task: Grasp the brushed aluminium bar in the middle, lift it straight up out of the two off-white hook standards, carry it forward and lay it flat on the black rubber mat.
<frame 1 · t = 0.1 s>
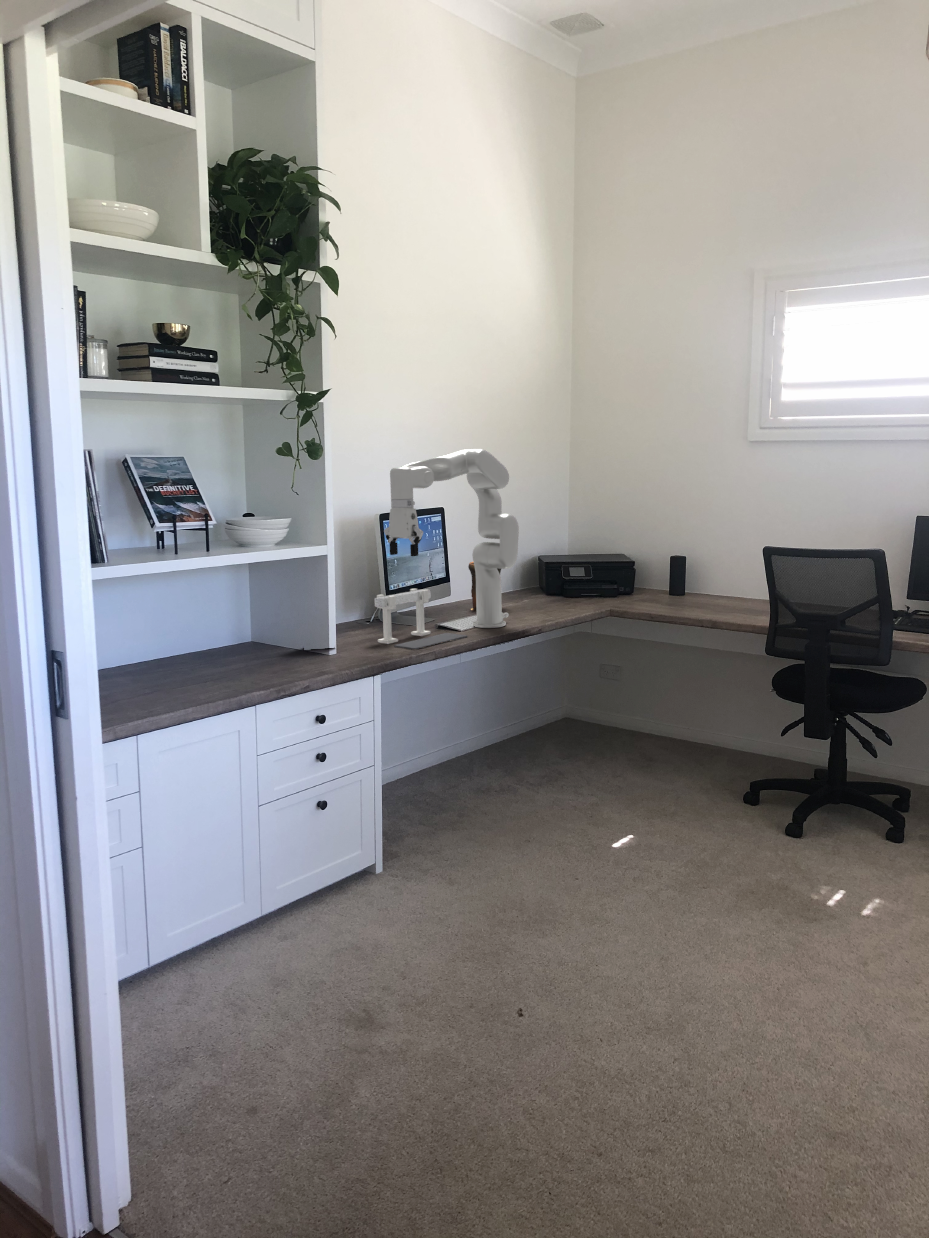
hand: (404, 555, 322), 31 cm above the table, tool pointing down, fingers open, 9 cm apart
hook standards: (404, 638, 341), on the table
rail: (403, 602, 338), point 13 cm above the table, touching hook standards
mat: (431, 641, 332), on the table
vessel: (486, 609, 399), on the table
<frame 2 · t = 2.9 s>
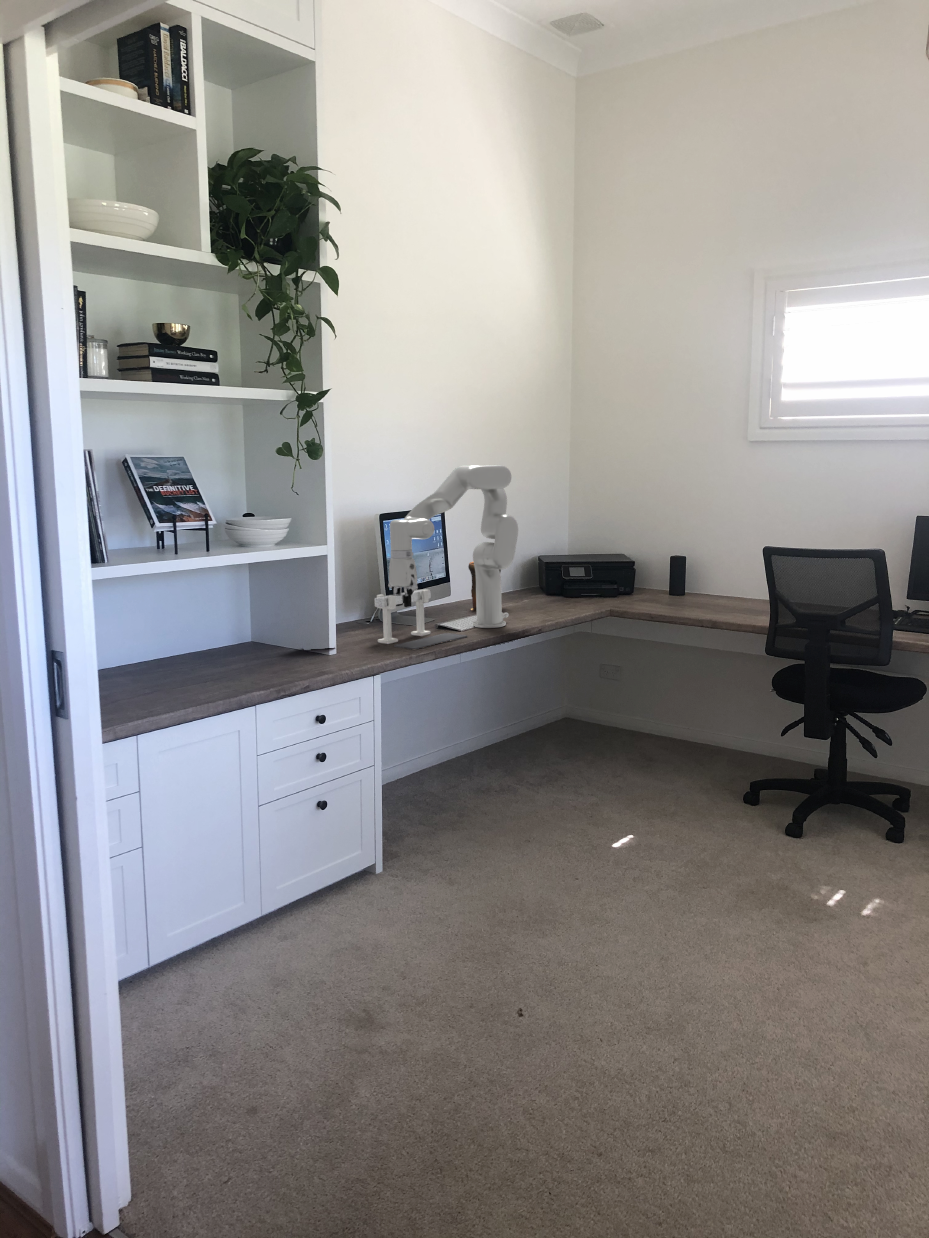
hand: (403, 605, 339), 12 cm above the table, tool pointing down, fingers closed on rail, 3 cm apart
rail: (403, 602, 338), point 13 cm above the table, touching gripper, hook standards
everything else where it was.
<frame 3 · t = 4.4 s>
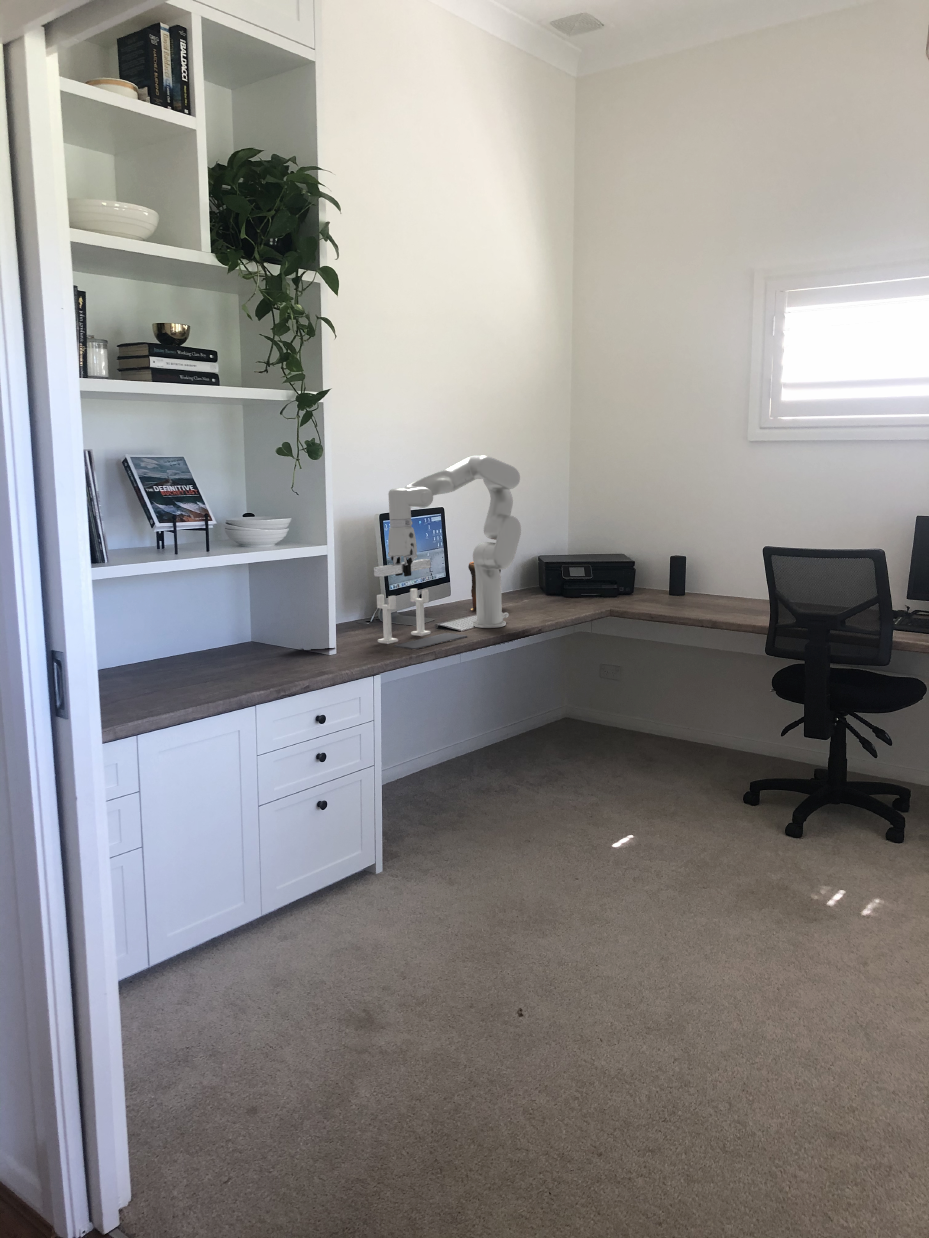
hand: (403, 575, 337), 23 cm above the table, tool pointing down, fingers closed on rail, 3 cm apart
rail: (403, 571, 337), point 24 cm above the table, touching gripper
everything else where it was.
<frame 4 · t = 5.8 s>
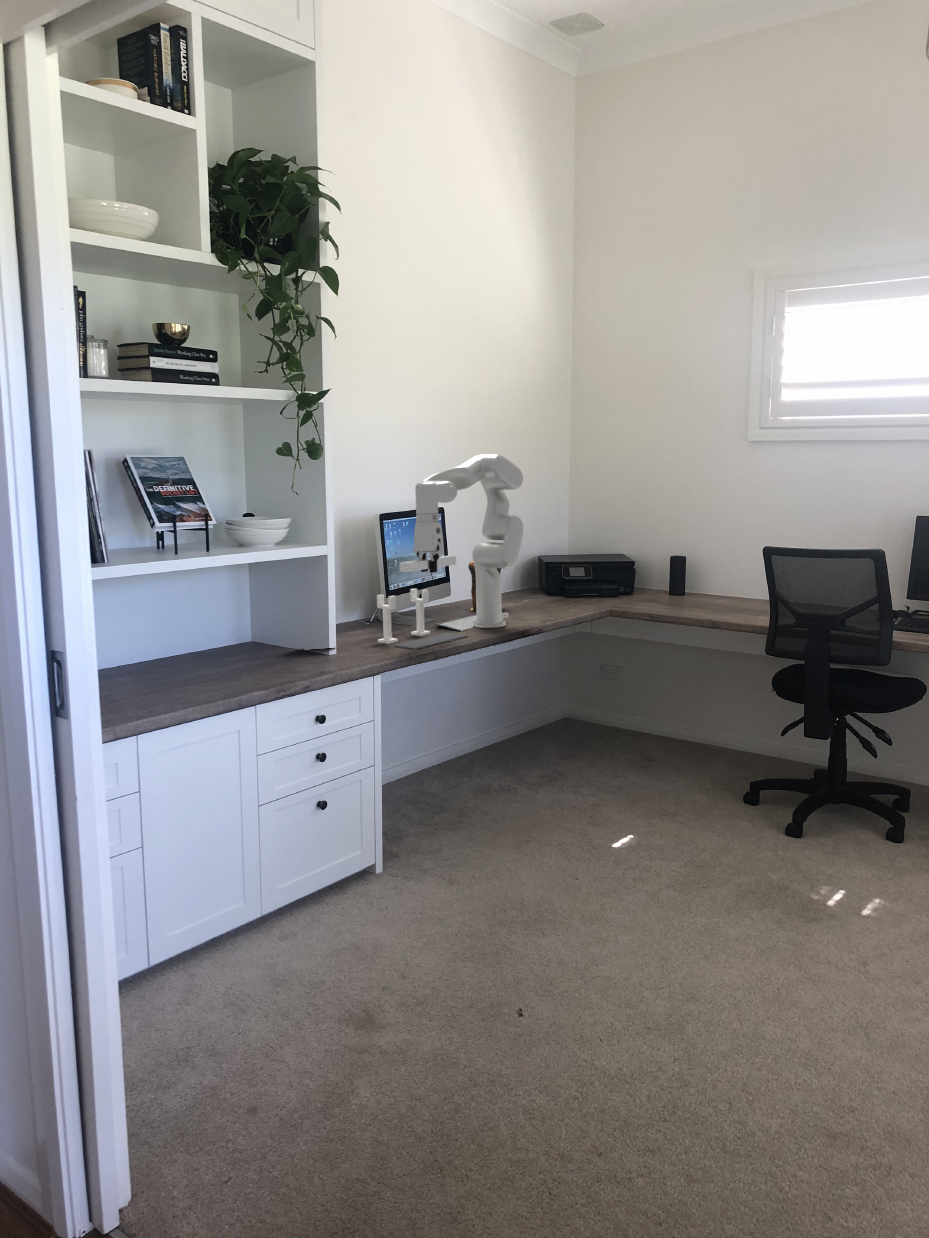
hand: (429, 571, 328), 25 cm above the table, tool pointing down, fingers closed on rail, 3 cm apart
rail: (428, 567, 328), point 26 cm above the table, touching gripper
everything else where it was.
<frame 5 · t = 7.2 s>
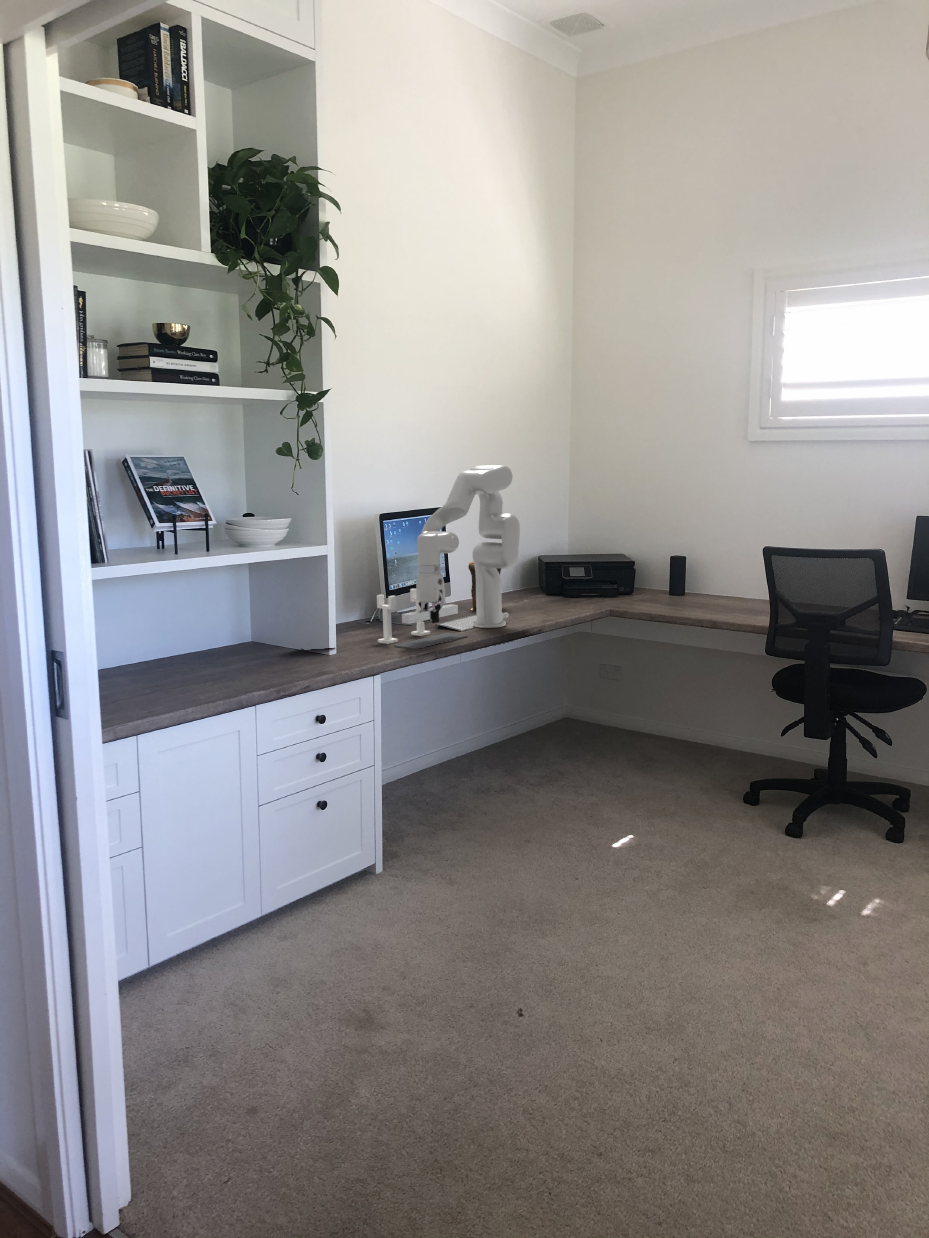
hand: (431, 621, 331), 7 cm above the table, tool pointing down, fingers closed on rail, 3 cm apart
rail: (430, 617, 331), point 8 cm above the table, touching gripper
everything else where it was.
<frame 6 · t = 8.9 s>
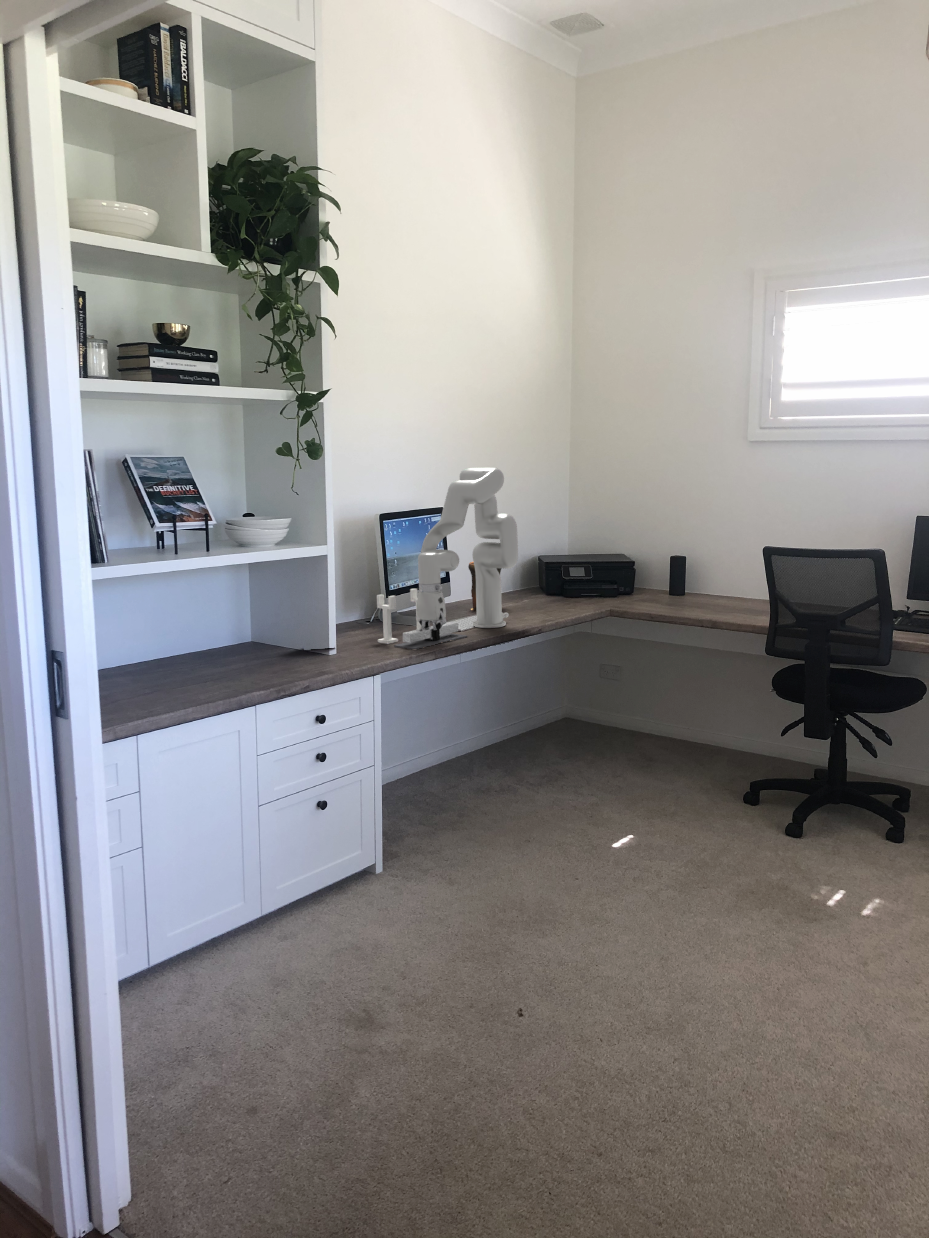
hand: (431, 639, 332), 1 cm above the table, tool pointing down, fingers closed on mat, rail, 3 cm apart
rail: (431, 636, 332), point 2 cm above the table, touching gripper
everything else where it was.
when the fingers open (1 cm above the table, at t = 8.9 s): rail drops 1 cm, resting on mat.
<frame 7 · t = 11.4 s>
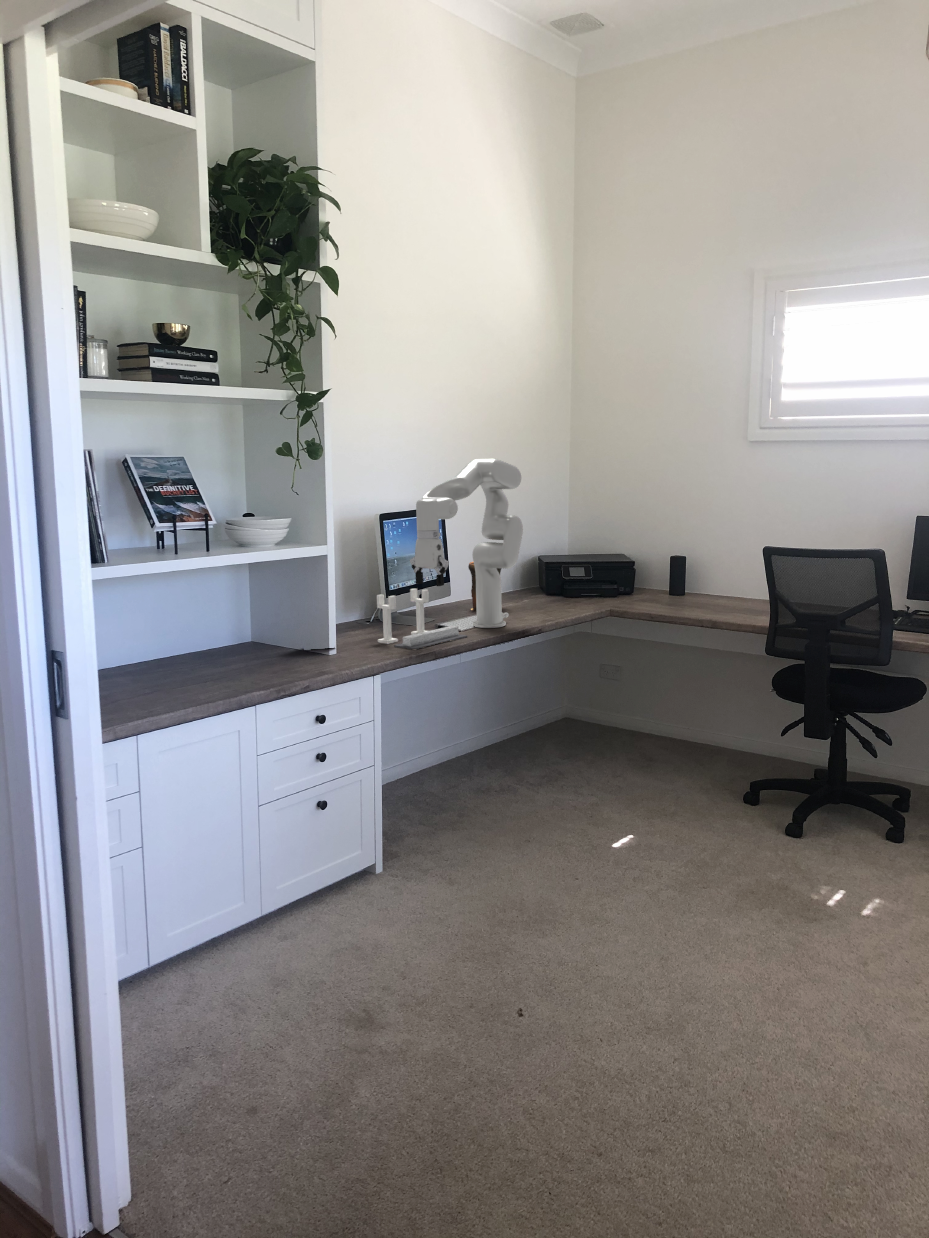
hand: (429, 584, 329), 20 cm above the table, tool pointing down, fingers open, 9 cm apart
rail: (431, 640, 332), point 1 cm above the table, touching mat
everything else where it was.
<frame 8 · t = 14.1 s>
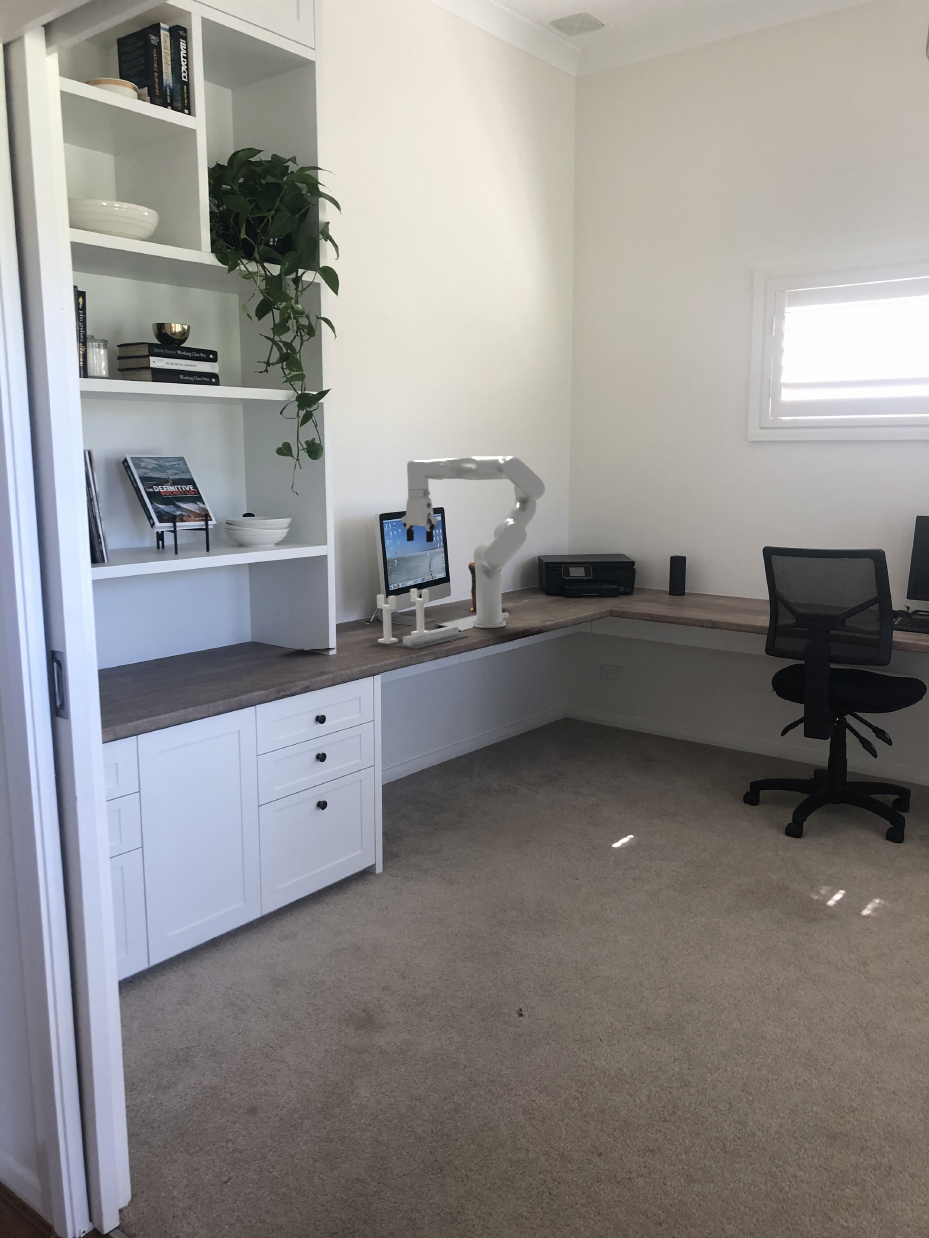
hand: (420, 541, 348), 33 cm above the table, tool pointing down, fingers open, 9 cm apart
nothing on the table moved.
at the end: rail inside the target area on the mat (0.0 cm from its centre), point 0.6 cm above the mat's base; rail touching mat; rail tilted 0° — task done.
